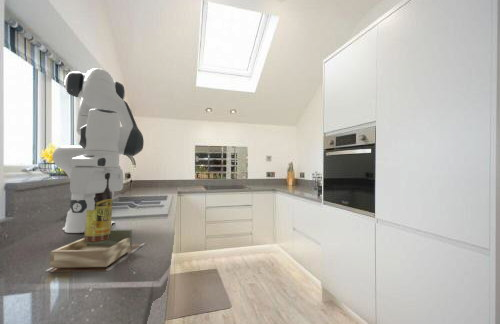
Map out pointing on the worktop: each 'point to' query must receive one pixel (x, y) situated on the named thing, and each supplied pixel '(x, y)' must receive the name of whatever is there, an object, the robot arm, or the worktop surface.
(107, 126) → the robot arm
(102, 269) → the flat board
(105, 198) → the sauce bottle
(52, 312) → the worktop surface
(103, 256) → the shallow wooden tray
